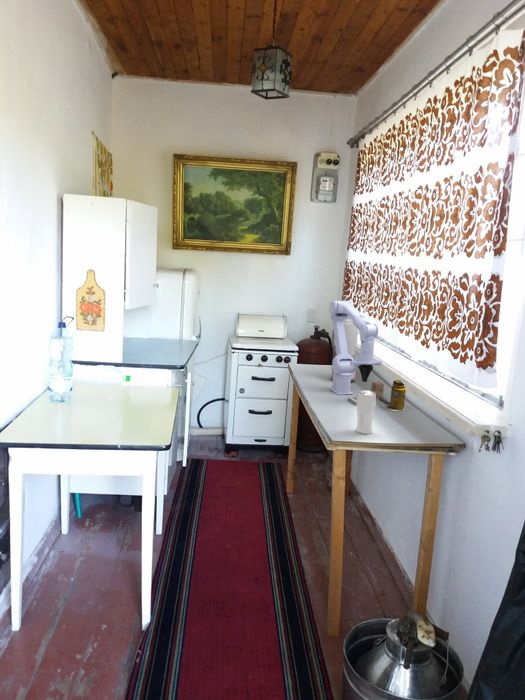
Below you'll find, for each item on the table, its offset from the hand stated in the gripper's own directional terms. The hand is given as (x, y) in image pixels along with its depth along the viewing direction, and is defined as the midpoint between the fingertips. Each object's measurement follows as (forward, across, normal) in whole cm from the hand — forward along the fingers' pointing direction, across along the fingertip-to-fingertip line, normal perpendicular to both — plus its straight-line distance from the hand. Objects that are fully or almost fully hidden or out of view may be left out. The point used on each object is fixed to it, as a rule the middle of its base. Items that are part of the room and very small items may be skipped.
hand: (364, 381), depth 233 cm
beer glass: (+10, -17, -36) cm, 41 cm away
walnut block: (+10, +11, +8) cm, 17 cm away
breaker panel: (+10, -1, 0) cm, 10 cm away
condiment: (+10, +11, -10) cm, 18 cm away
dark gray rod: (+10, +11, 0) cm, 15 cm away
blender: (+10, +7, +40) cm, 41 cm away
